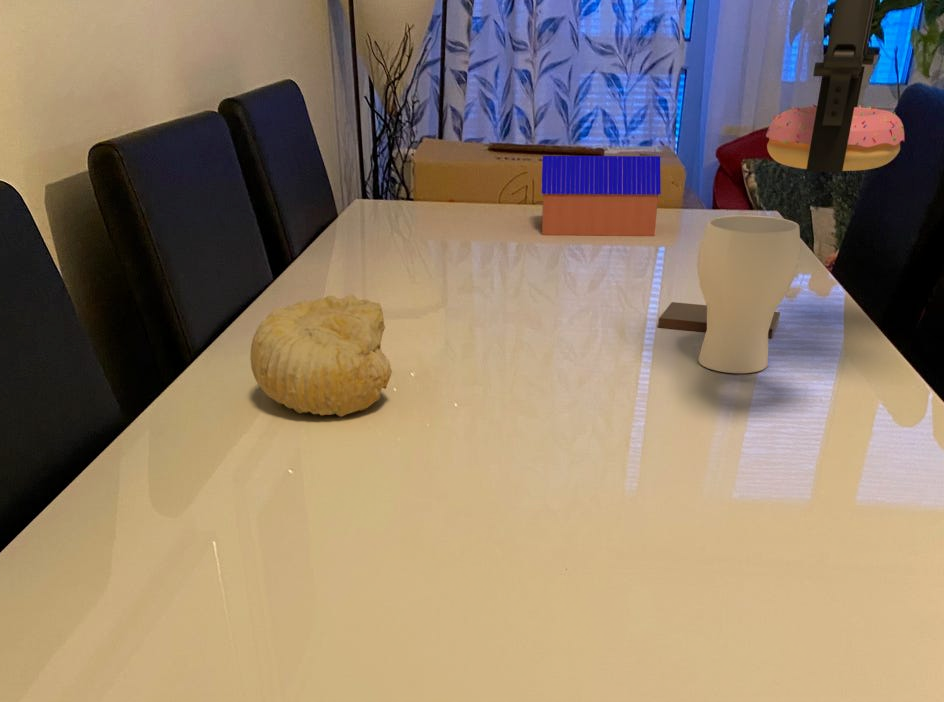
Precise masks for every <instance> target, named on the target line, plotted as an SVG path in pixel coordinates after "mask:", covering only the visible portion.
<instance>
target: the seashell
mask: <svg viewBox="0 0 944 702" xmlns="http://www.w3.org/2000/svg"><path fill="white" fill-rule="evenodd" d="M385 329H386V326H385V319H384V312H383V308H382V305H381V304H380V302H375V301H371V300H370V299H368V298H363V299H358V298H357V297H356V295H355V294H348V295H346V296H344V297H341V298H338V297H336V296H335V295H327V296H325V297H323V298H316V299H314V300H302V301H299V302H295V303H294V304H292V305H287V306H285V307H283V308H273V309H271V311H270V313H269V314H268V315H267V316H266V318H265V319H264V320H263V321H262V322H261V323H260V324H259V325H258V327H257V328H256V331H255V333H254V335H253V337H252V341H251V346H250V357H249V358H250V368H251V372H252V374H253V378H254V379H255V381H256V383H257V384H258V386H259V388H261V390H262V391H263V392H264V394H266V395H267V396H268V397H269V398H271V400H273V401H274V402H276V403H277V404H279V405H284V406H285V407H286V408H288V409H293V411H295V412H296V413H299V414H303V413H304V414H308V413H311V414H312V415H320V416H331V415H336V416H338V417H339V418H342V417H344V416H346V415H349V414H353V413H355V412H358V411H361V412H362V411H364V410H366V409H369V407H370V406H372V405H373V404H374V403H376V402H378V401H379V400H380V398H382V397H381V391H382V389H384V390H386V389H387V387H388V386H387V385H388V383H389V382H390V379H391V378H392V374H393V370H392V368H391V362H390V360H389V359H388V358H387V356H386V355H385V354H384V352H383V350H382V349H381V346H382V339H383V334H384V331H385Z"/></svg>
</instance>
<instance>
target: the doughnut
mask: <svg viewBox="0 0 944 702" xmlns="http://www.w3.org/2000/svg"><path fill="white" fill-rule="evenodd" d="M874 107H875V105H872V106H870V105H868V106H867V107H862V106H861V105H859V107H858V106H857V107H854V112H853V118H852V123H851V128H850V134H849V139H848V144H847V150H846V155H845V160H844V166H843V171H842V172H849V171H850V172H852V171H855V172H856V171H865V170H873V169H877V168H880V167H884V166H885V165H887V164H889V163H891V161H893V160H894V159H895V158H896V157H897V156H898V154H899V153H900V151H901V142H904V143H905V142H906V141H905V129H904V124H903V122H902V119H900V117H899V116H898V115H897V114H896V112H895V111H894V112H891V111H889V110H886V109H878V108H874ZM816 110H817V105H815V104H813V105H812V106H805V107H795V108H794V106H792V107H791V108H790V109H789V108H788V109H787V108H785V109H784V110H782V112H779V113H778V114H777V116H773V118H772V119H773V120H772V121H771V123H770V125H769V127H768V128H767V132H766V134H765V137H766V139H769V140H768V142H767V145H766V149H767V152H768V154H769V156H770V157H771V158H772V159H773V160H774V161H775V162H777V163H779V164H780V165H782V166H787V167H791V168H795V169H803V170H806V169H807V163H808V157H809V151H810V146H811V140H812V134H813V128H814V122H815V116H816Z"/></svg>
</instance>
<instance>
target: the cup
mask: <svg viewBox="0 0 944 702" xmlns="http://www.w3.org/2000/svg"><path fill="white" fill-rule="evenodd" d="M800 230H801V229H800V224H799V223H797V222H795V221H793V220H790V219H786V218H781V217H776V216H768V215H767V216H766V215H753V214H752V215H751V214H750V215H749V214H736V215H735V214H734V215H722V216H717V217H713V218H711V219H709V220H708V221H707V223H706V226H705V229H704V232H703V234H702V238H701V241H700V244H699V247H698V255H697V263H696V270H697V277H698V282H699V288H700V290H701V294H702V296H703V299H704V302H705V305H707V331H706V332H705V334H704V338H703V341H702V344H701V348H700V352H699V355H698V360H697V361H698V363H699V364H700V365H701V366H702V367H705V368H706V369H710V370H712V371H716V372H721V373H729V374H751V373H756V372H760V371H763V370H766V368H767V367H768V363H769V339H768V331H769V328H770V325H771V321H772V318H773V315H774V312H776V310H777V308H778V307H779V306H780V304H781V303H782V301H783V300H784V298H785V297H786V296H787V294H788V292H789V291H790V288H791V286H792V284H793V282H794V280H795V277H796V275H797V272H798V267H799V261H800V256H801V231H800Z"/></svg>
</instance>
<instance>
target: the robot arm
mask: <svg viewBox="0 0 944 702" xmlns="http://www.w3.org/2000/svg"><path fill="white" fill-rule="evenodd" d="M875 5H876V0H835V5H834V10H833V17H832V21H831V22H832V23H831V27H830V32H829V38H828V43H827V49H826V52H825V54H824V55H823V61H822V62H821V61H818V62H815V64H814V68H813V75H812V76H813V77H821V80H820V86H819V93H818V99H817V105H816V106H817V110H816V116H815V122H814V128H813V134H812V140H811V146H810V151H809V157H808V163H807V169H805V170H806V172H811V173H814V172H815V173H833V174H843V172H844V171H843V166H844V160H845V155H846V150H847V144H848V139H849V134H850V128H851V123H852V118H853V112H854V107H858V105H859V99H860V94H861V89H862V83H863V78H864V73H865V68H866V67H865V66H873V65H874V61H875V55H876V51H868V50H869V48H870V42H869V38H870V33H871V27H872V21H873V16H874V11H875Z"/></svg>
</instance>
